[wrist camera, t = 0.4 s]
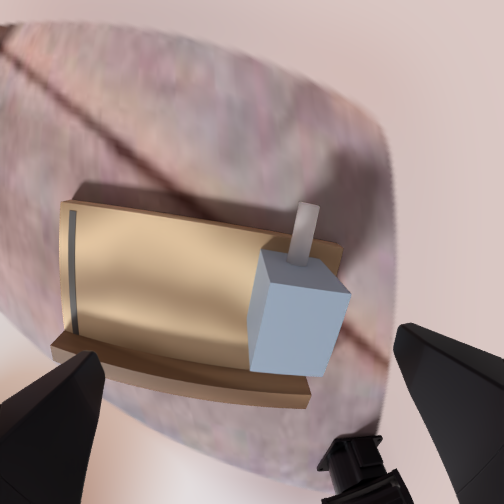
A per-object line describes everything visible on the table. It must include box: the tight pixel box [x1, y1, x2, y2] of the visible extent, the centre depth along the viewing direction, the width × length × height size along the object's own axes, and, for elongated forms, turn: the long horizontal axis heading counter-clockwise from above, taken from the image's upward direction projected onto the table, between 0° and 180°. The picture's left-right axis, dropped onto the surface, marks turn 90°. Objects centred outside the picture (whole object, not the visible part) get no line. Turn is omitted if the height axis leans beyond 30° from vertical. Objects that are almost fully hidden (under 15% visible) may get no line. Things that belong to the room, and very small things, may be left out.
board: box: [50, 200, 344, 409], centre depth 19 cm, size 12×20×4 cm, turn 80°
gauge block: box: [247, 202, 351, 377], centre depth 16 cm, size 8×4×6 cm, turn 169°
